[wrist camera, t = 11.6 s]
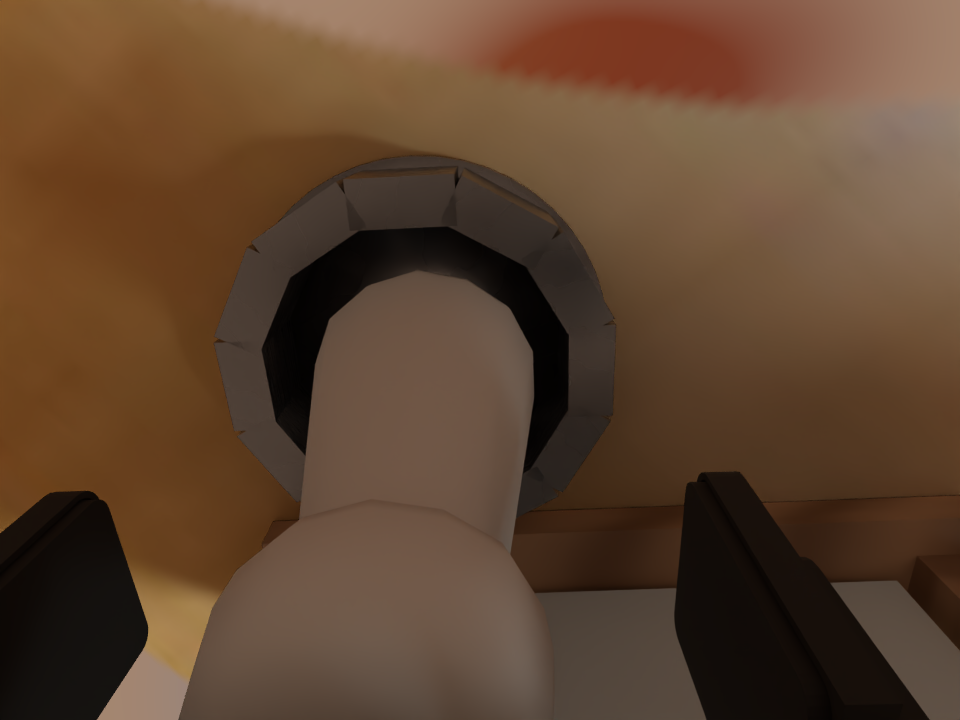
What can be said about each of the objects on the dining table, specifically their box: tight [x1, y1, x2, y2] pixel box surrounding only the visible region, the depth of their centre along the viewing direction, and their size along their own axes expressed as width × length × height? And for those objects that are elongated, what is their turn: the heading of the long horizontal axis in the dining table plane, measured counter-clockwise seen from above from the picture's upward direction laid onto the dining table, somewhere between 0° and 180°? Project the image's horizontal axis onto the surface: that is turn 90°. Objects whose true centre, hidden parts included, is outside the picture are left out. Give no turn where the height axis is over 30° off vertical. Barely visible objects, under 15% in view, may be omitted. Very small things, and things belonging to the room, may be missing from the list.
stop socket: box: [214, 155, 616, 518], centre depth 17 cm, size 11×11×3 cm
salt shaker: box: [179, 270, 555, 720], centre depth 12 cm, size 6×6×13 cm
